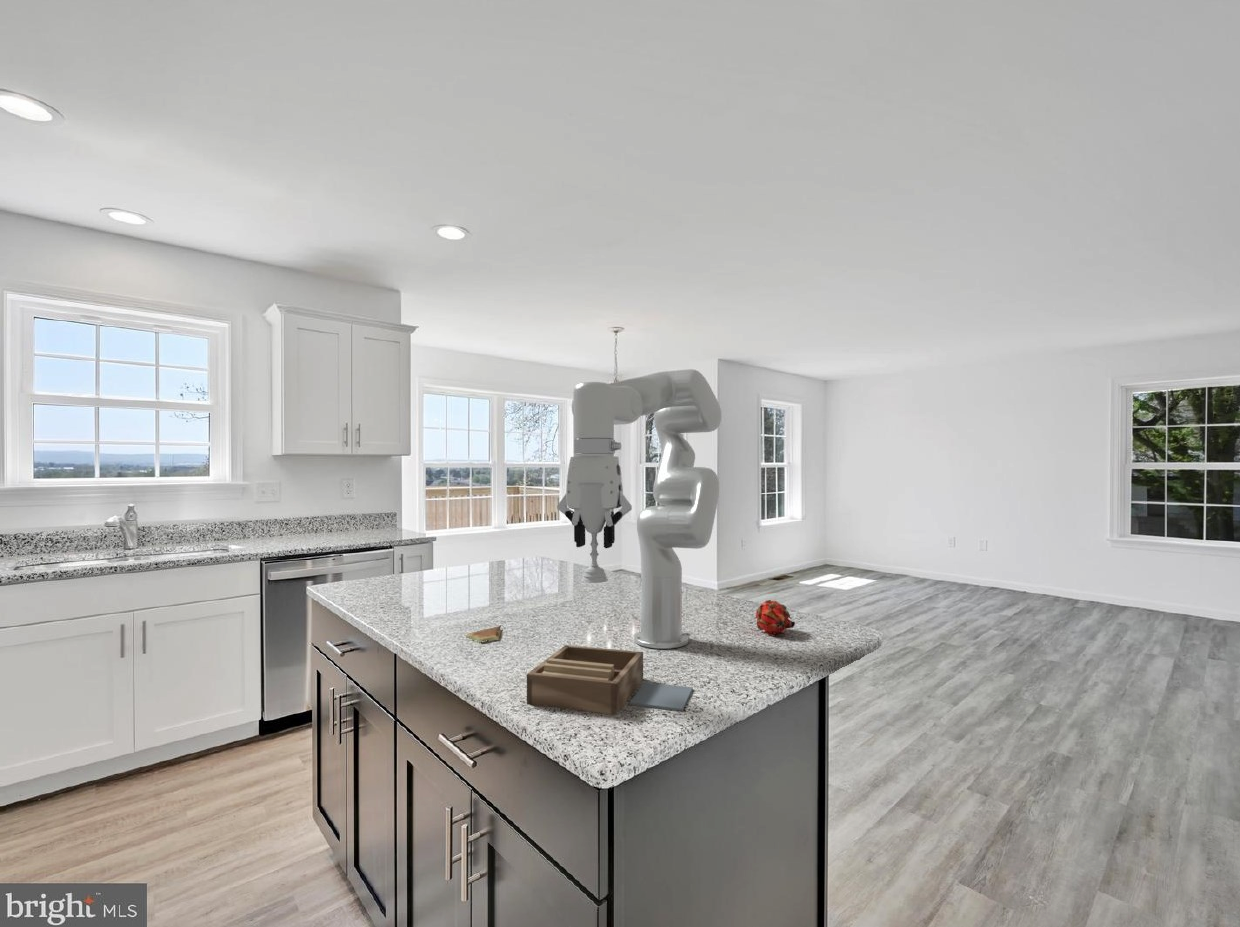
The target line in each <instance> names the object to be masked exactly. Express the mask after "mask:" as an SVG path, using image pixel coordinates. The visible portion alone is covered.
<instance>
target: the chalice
mask: <svg viewBox="0 0 1240 927" xmlns="http://www.w3.org/2000/svg"><path fill="white" fill-rule="evenodd" d="M603 485H604V484H578V486H579V487H580V489H581V501H580V508H579V512H580V516H581V520H582V522H583V524H584V526H585V531H586V532H587V533H589V534H591V542H590V544H589V545H590V546H591V552H590V553H589V555H590V557H591V564H590V566H588V567H586V569H584V573H583V575H582V578H581V579H580V581H581V582H582V583H588V584H600V583H607V582H608V581H609V579H608V577H607V574H606V573H605V569H604V568H603V567H601V566H599V564H598V556H599V555H600V554H599V552H598V549H597V548H598V546H599V542H598V539H597V538H598V534H599V533H601V532H602V531H603V530H604V527H605V525H606V520H605V516H604V515H605V511H606V510H605V509H603V506H602V500H601V489H602V487H603Z"/></svg>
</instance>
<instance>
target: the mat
mask: <svg viewBox="0 0 1240 927" xmlns="http://www.w3.org/2000/svg"><path fill="white" fill-rule="evenodd" d="M693 690H694V689H693V687H692V686H684V685H675V684H665V683H664V684H663V683H655V682H653V683H652V682H648V681H647V682H643V684H642V685H641V687H639V689H638V691H637V692H636V694H635V695H634V696H633V698H632V699H631V700H630V701H629V706H636V707H644V708H645V707H646V708H653V709H654V708H655V709H662V710H671V711H678V712H679V711H680V712H684V709H685V707H686V704H687V703H688V701H687V700H689V699H690V696H691V694H692V692H693Z"/></svg>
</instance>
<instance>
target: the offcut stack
mask: <svg viewBox="0 0 1240 927" xmlns="http://www.w3.org/2000/svg"><path fill="white" fill-rule="evenodd" d="M548 658H549V657H548ZM548 658H547V659H548ZM542 674H552V675H561V676H570V677H580V678H589V679H599V680H608V681H613V680H614V665H613V664H603V663H593V662H583V661H573V660H563V659H553V658H549V659H548V660H547V663H546V664H545V665H544V671H543V672H542Z"/></svg>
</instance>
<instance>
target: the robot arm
mask: <svg viewBox="0 0 1240 927" xmlns="http://www.w3.org/2000/svg"><path fill="white" fill-rule="evenodd" d="M573 388H574V389H573V399H572V402H571V412H572V416H573V456H570V458H569V463H568V468H567V469H568V470H567V475H566V488H565V494H564V495H563V497H562V498H561V500H560V501H559V503H557V505H556V508H557V510H558V511H560V512H561V513H562V514H563V515H564V516H565V517H566V518H567V519H568V521H569V522H570V523H571V525H572V526H573V539H574V540H573V542H574V543H575V546H576V548H581V547H584V546H585V545H586V528H585V526H584V524H583V522H582V520H581V516H580V512H579V508H580V501H581V489H580V487H579V486H578V484H604V485H603V487H602V489H601V500H602V506H603V509H605V510H606V511H605V515H604V516H605V520H606V522H605V525H604V527H603V548H604V549H609V548H612V547H613V544H615V541H616V537H615V536H616V535H615V533H616V532H615V529H616V528H615V526H616V525H617V524H618V523H619V522H620V521H621V520H622V518H623V517H624V516H625V515H627V514H629V512H631V511H632V510H633V505H632V504H631V503H630V502H629V500H628V499H627V497H626V496H625V495H624V486H623V476H622V467H621V464H620V457H619V456H615V454H616V451H618V450H619V451H620V450H622V443H621V442H617V441H616V440H615V439H614V438H615V426H616V425H617V426H618V425H629V424H632V423H634V422H637V421H638V420H639V418H641V416H642V417H643V416H648V415H651V414H653V421H654V425H655V430H656V433H657V437H658V439H659V444H660V449H661V454H660V460H659V463H658V466H657V470H656V474H655V477H654V478H655V479H654V482H653V486H652V496H653V498H654V499H653V500H655V502H656V503H658V504H659V505H651V506H647V507H645V508H644V509H642V510H641V511H640V512H639V513H638V516H637V519H636V531H637V538H638V542H639V543H638V544H639V548H640V549H639V550H640V631H639V632H637V633H636V634H634V638H633V639H634V642H635V643H636V644H637V645H639V646H642V647H645V648H651V649H658V650H659V649H665V650H667V649H668V650H669V649H675V648H676V649H677V648H680V647H683V646H686V645H688V644H689V636H688V634H686V633H685V632H683V626H682V625H683V620H682V619H683V618H682V617H683V615H682V614H683V609H682V608H683V607H682V606H683V604H682V603H683V595H682V594H683V590H682V589H683V587H682V586H683V580H682V578H683V577H682V576H683V574H682V573H683V570H682V564H681V563H682V562H681V560H680V558H679V557H678V554H677V552H675V548H676V549H697V550H698V549H703V548H705V547H706V546H707V545H708V544H709V543H710V540H711V538H712V537H711V536H712V533H713V528H714V522H715V517H716V512H717V508H718V503H719V497H720V496H719V495H720V481H719V478H718V475H717V473H716V472H715V471H714V470H713V469H711V468H709V467H704V466H703V467H701V466H700V467H699V466H694V465H695V460H696V454H695V450H694V449H693V447H692V446H691V445H690V443H689V442H688V441H687V440H686V439H685V438H684V436H683V435H682V434H691V433H692V434H696V433H698V434H699V433H710V432H711V433H712V432H713V431H716V430H717V429H718V428H719V427H720V426H721V422H722V410H721V407H720V403H719V401H718V399H717V397H716V395H715V393H714V392H713V390H712V387H711V386H710V383H709V382H708V381H707V379H706V377H705V376H704V375H703V374H702V373H701V372H700V371H698V370H696V369H692V368H689V369H682V370H681V369H680V370H679V369H678V370H669V371H659V372H655V373H650V374H647V375H642V376H638V377H632V378H627V379H623V380H620V381H613V382H610V383H607V382H603V381H601V382H600V381H586V382H581V383H578V384H576V385H575V386H574V387H573ZM619 508H620V509H619ZM615 509H619V510H618V511H616V512H615Z"/></svg>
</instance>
